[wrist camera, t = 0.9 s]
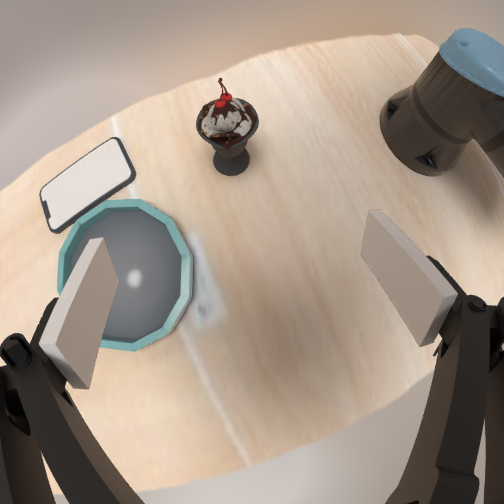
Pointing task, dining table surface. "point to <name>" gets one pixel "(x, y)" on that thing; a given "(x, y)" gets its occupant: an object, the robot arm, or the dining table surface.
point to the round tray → (135, 269)
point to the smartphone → (86, 184)
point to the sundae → (228, 131)
